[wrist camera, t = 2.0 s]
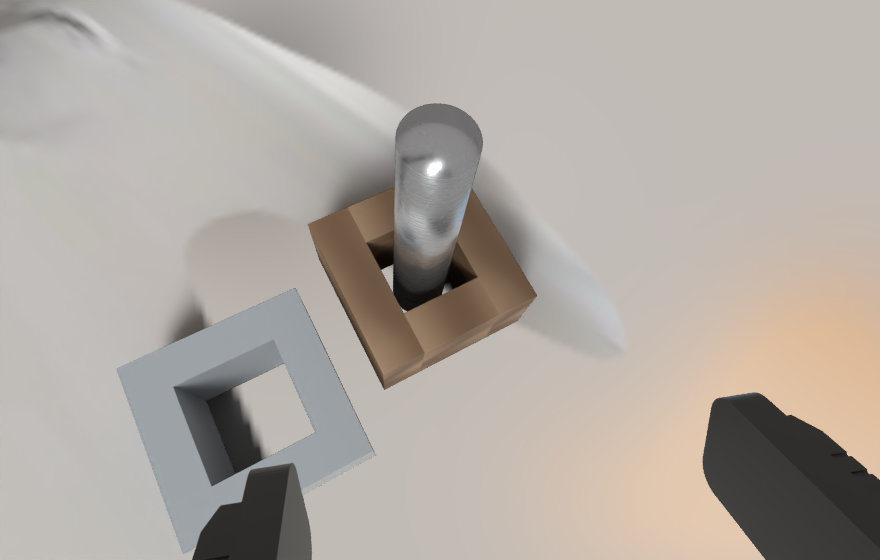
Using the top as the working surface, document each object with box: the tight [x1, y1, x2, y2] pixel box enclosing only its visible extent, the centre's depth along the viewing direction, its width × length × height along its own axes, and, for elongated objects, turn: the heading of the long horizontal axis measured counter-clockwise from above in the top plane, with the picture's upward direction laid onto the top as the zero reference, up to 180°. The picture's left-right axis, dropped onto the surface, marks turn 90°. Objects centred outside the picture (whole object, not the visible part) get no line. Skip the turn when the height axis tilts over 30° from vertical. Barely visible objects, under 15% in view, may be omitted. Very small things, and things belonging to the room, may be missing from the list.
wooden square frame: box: [308, 187, 537, 390], centre depth 32 cm, size 9×9×5 cm
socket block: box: [117, 288, 375, 554], centre depth 28 cm, size 9×9×5 cm
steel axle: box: [393, 104, 483, 312], centre depth 26 cm, size 3×3×16 cm
